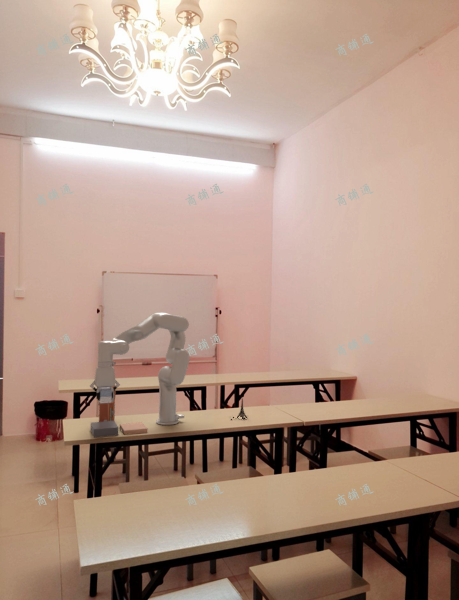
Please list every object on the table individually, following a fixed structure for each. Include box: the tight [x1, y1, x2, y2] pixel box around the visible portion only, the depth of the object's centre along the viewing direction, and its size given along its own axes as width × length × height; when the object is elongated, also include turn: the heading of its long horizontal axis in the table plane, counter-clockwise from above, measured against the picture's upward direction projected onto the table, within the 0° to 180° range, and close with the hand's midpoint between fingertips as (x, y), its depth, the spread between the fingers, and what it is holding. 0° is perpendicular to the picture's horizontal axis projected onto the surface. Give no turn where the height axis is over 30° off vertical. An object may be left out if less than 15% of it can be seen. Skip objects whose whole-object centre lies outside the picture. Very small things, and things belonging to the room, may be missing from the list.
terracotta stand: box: [119, 421, 149, 436], centre depth 247 cm, size 12×14×2 cm
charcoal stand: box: [90, 420, 119, 438], centre depth 241 cm, size 12×14×4 cm
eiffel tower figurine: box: [237, 397, 248, 421], centre depth 276 cm, size 15×10×13 cm
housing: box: [98, 387, 112, 403], centre depth 241 cm, size 6×9×6 cm, turn 23°
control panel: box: [98, 386, 117, 422], centre depth 261 cm, size 21×7×15 cm
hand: (104, 399), depth 241 cm, fingers closed on housing, 5 cm apart
